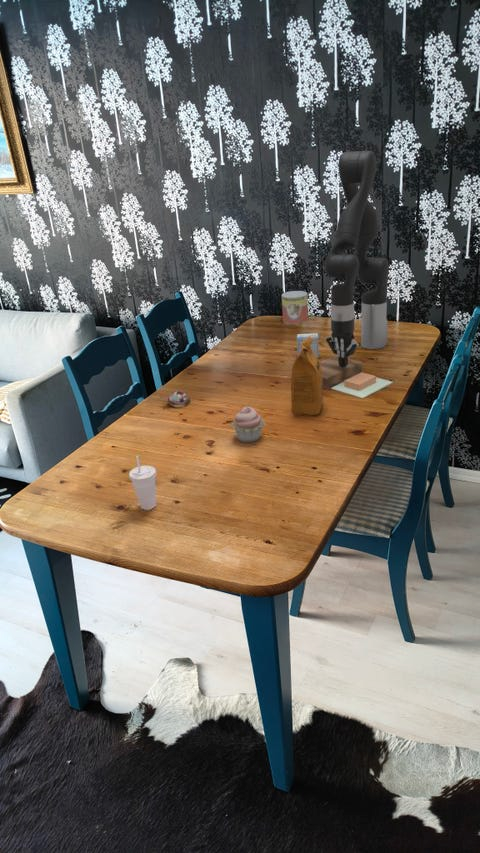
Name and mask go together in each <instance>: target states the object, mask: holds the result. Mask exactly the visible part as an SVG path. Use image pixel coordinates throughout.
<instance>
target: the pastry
mask: <svg viewBox="0 0 480 853" xmlns="http://www.w3.org/2000/svg"><path fill="white" fill-rule="evenodd" d="M191 402H192V401H191V398H190V397H189V395H188V394H186V392H184V391H183V390H180V389H178V390H176V391H175V392H174V393H173V394H171V395H169V396H168V398H167V404H168V406H169V407H171V408H173V409H181V408H185V407H187V406H189V405H190V404H191Z"/></svg>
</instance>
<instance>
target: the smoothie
mask: <svg viewBox="0 0 480 853" xmlns="http://www.w3.org/2000/svg"><path fill="white" fill-rule="evenodd" d="M135 458H136V459H135V460H136V464H137V466H136V467H134V468H132V469H131V470H130V471H129V473H128V476H129V480H130V481H131V483H132V486H133V488H134V492H135V496H136V498H137V500H138V503H139V506H140V509H141V508H142V509H145V510H147V509H152V508H154V507H155V506H156V507H157V490H156V487H157V486H156V476H157V471H156V470H157V469H156V468H155V467H154V466H151V465H141V464H140V459H139V455H136V456H135ZM156 507H155V508H156ZM155 508H154V509H155ZM142 509H141V510H142ZM145 510H144V511H145ZM152 510H153V509H152Z"/></svg>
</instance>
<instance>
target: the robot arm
mask: <svg viewBox="0 0 480 853" xmlns="http://www.w3.org/2000/svg"><path fill="white" fill-rule="evenodd" d="M376 172H377V156H376V153H374V151H371V150H360V151H359V150H355V151H345V152H343V153H341V154H340V156H339V159H338V174H339V179H340V182H341V188H342V189H343V193H344V194H343V195H344V198H345V201H346V202H345V203H346V207H345V208H344V209H343V211H342V212H341V214H340V216H339V218H338V221H337V227H336V232H335V236H334V237H335V238H334V241H333V243H332V245H331V248H330V250H329V252H328V255H327V256H326V259H325V262H324V272H325V274H326V275H327V276H328V277H330V278H345V280H344V282H342V283H341V282H340V283H337V284H334V285H332V286H331V288H330V289H331V290H330V295H331V296H330V300H331V301H330V302H331V305H330V306H331V307H330V331H331V335H330V336H329V337H327V338H325V340H326V342H327V345H328V346H329V348H330V349H331V351H332V353H333V354H334V355H336V356H338V363H339V366H340V367H342V368H344V367H346V366H347V365H348V359H349V357H350V356H353V355H354V353H355V352H356V351H357V350H358V349H359V347H360V346H361V347H362V348H364V349H368V350H379V349H383V348H385V347H386V345H387V344H388V321H389V320H388V319H387V312H388V311H387V308H388V307H387V304H388V285H389V284H388V282H389V271H390V268H389V267H390V264H389V260H388V258H386V257H368V255H367V253H368V252H367V251H369V250H368V249H369V248H370V246H371V245H372V243H373V242H374V240H375V239H376V237H377V236H378V232H379V221H378V213H377V210H376V208H375V207H374V205H373V204H372V203H371V201H370V200H369V196H370V193H371V190H372V187H373V184H374V180H375V178H376ZM358 184H359V187H358ZM351 249H354V253H355V254H352V253H351V254H350V253H349V254H348V253H345V254H343V253H344V252H345V251H347V250H351ZM357 278H358V281H359V282H360V283H361V284H374V285H375V284H376V287H375V288H373V289H371V290H368V291H366V292H364V293H362V294H361V307H360V308H361V311H360V313H361V326H360V327H361V333H360V334H361V337H360V338H361V342H359V341H356V340H355V335H354V331H355V304H354V289H355V283H356V279H357Z"/></svg>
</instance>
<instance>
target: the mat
mask: <svg viewBox="0 0 480 853" xmlns="http://www.w3.org/2000/svg"><path fill="white" fill-rule="evenodd" d="M393 382H394V381H392V380H391V381H390V380H387V379H384V378H379V377H377V376H376V383H374V384H372V385H370V386H368V387H366V388H364V389H362V390H360V391H357V390H354V389H351V388H347V387H345V386H344V382H342V383H340V384H338V385H336V386H334V387H332V388H330V390H333V391H336V392H339V393H342V394H346V395H349V396H352V397H355V398H358V399H361V400H362V399H366V398H367V397H369V396H371V395H373V394H374V393H377V392H379V391H380V390H382V389H384V388H387V387H388V386H391V385H392V384H393Z"/></svg>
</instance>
